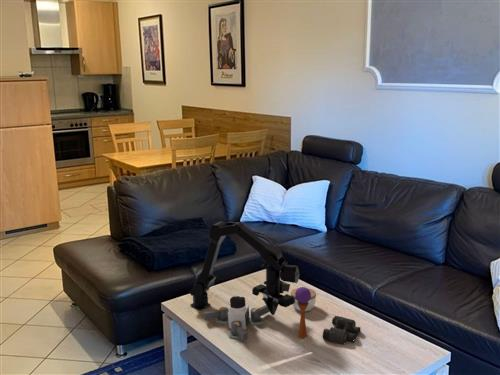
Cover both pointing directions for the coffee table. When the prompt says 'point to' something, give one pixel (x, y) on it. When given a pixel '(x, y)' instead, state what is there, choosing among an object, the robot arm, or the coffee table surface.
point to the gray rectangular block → (238, 330)
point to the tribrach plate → (238, 335)
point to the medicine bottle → (238, 311)
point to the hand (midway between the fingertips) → (273, 314)
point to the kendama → (302, 308)
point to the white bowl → (311, 301)
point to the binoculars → (341, 330)
